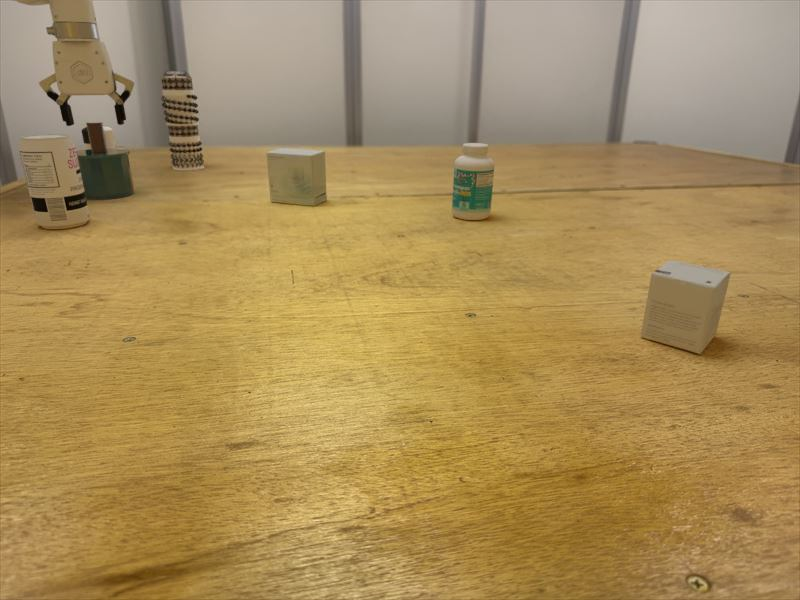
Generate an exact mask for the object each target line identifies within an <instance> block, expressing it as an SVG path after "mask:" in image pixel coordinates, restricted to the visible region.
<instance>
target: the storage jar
mask: <svg viewBox="0 0 800 600" xmlns="http://www.w3.org/2000/svg"><path fill="white" fill-rule="evenodd" d="M78 163H79V167H80V172H81V177H82V182H83V187H84V191H85V196H86V200H94V201H95V200H99V201H100V200H101V201H102V200H114V199H120V198H121V199H122V198H126V197H129V196H132V195H134V194H135V188H134V181H133V175H132V170H131V165H130V158H129V155H126V156H121V157H113V158H98V159H81V158H78Z"/></svg>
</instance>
